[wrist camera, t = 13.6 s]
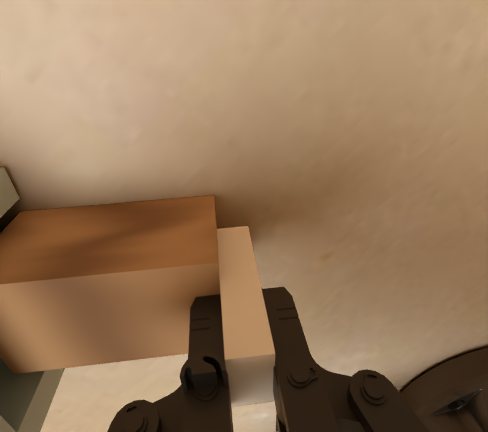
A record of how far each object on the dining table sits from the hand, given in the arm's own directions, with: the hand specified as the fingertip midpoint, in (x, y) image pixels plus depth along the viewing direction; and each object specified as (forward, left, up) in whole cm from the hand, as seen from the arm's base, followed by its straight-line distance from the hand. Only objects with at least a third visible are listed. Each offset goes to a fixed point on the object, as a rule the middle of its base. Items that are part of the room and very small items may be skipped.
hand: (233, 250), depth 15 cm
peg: (+5, 0, -2) cm, 5 cm away
